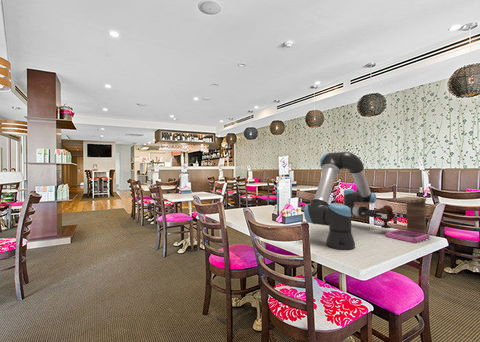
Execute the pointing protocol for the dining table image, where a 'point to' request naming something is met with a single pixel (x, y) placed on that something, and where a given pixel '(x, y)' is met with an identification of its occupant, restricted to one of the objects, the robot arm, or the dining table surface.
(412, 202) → the display shelf
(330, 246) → the robot arm
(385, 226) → the ice cream bowl
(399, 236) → the seat plate
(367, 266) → the dining table surface
